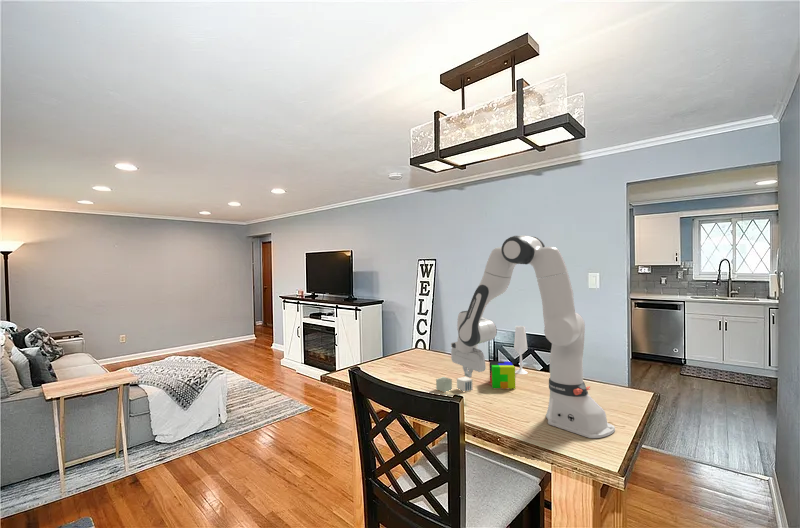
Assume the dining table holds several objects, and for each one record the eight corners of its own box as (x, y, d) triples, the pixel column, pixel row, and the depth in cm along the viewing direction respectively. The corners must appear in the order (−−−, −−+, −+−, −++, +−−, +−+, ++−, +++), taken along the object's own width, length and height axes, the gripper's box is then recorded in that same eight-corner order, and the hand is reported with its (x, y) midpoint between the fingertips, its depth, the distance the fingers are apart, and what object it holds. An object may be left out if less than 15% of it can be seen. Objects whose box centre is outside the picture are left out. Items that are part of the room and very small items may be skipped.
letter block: (472, 379, 166) (465, 376, 170) (463, 381, 163) (456, 378, 168) (472, 390, 166) (465, 387, 170) (464, 392, 163) (456, 389, 168)
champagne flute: (529, 371, 193) (528, 326, 193) (525, 374, 187) (525, 328, 187) (516, 369, 197) (515, 325, 197) (512, 373, 191) (511, 327, 191)
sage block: (451, 390, 167) (451, 379, 167) (444, 392, 164) (444, 381, 164) (443, 387, 171) (443, 376, 171) (436, 390, 167) (436, 379, 167)
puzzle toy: (510, 382, 177) (510, 361, 177) (515, 389, 167) (515, 367, 167) (489, 381, 178) (489, 361, 178) (493, 388, 168) (492, 367, 168)
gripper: (488, 349, 157) (489, 381, 157) (459, 341, 175) (459, 370, 175) (477, 351, 154) (477, 384, 154) (448, 342, 172) (449, 372, 172)
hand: (468, 376), depth 164 cm, fingers closed
